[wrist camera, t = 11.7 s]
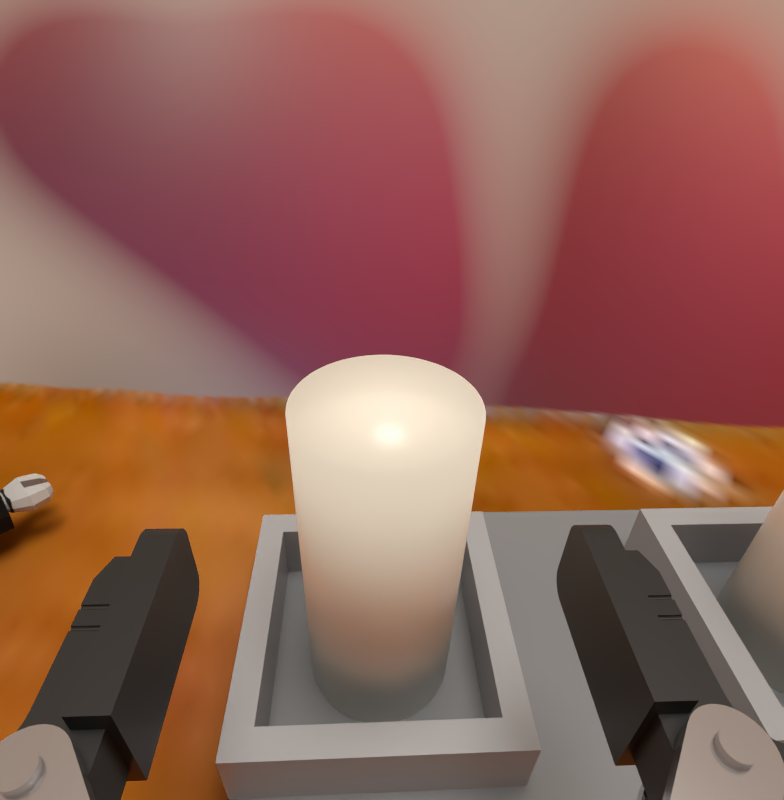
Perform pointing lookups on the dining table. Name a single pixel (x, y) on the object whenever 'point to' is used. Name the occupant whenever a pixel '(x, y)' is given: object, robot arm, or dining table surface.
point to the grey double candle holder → (499, 665)
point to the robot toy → (23, 497)
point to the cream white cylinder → (382, 524)
